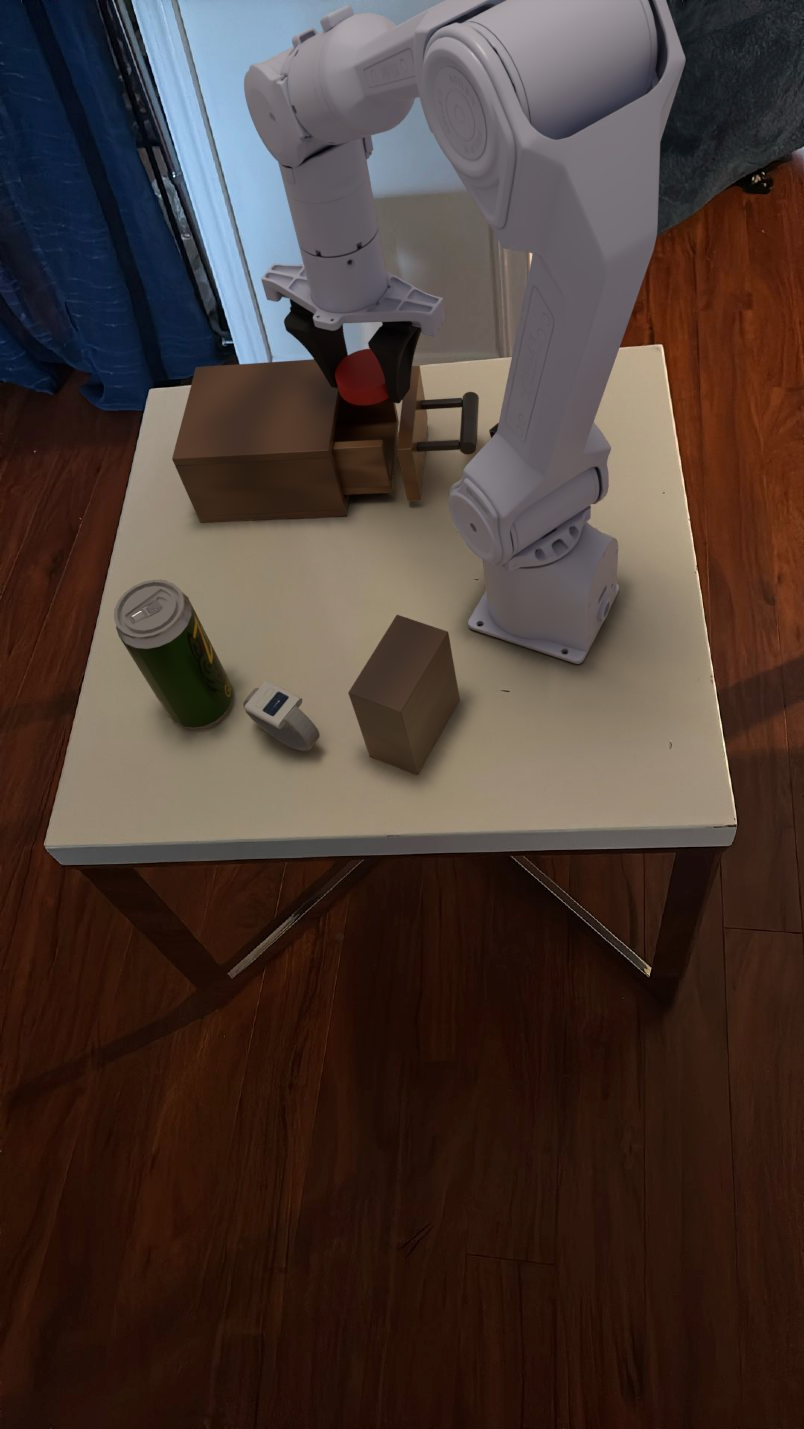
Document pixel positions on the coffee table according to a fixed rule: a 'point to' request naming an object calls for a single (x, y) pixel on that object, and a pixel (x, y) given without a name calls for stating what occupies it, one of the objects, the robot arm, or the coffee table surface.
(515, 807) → the coffee table surface
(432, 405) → the drawer
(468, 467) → the robot arm
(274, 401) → the cabinet
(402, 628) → the stand
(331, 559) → the coffee table surface
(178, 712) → the beer can
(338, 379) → the lid
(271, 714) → the wristwatch
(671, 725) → the coffee table surface
